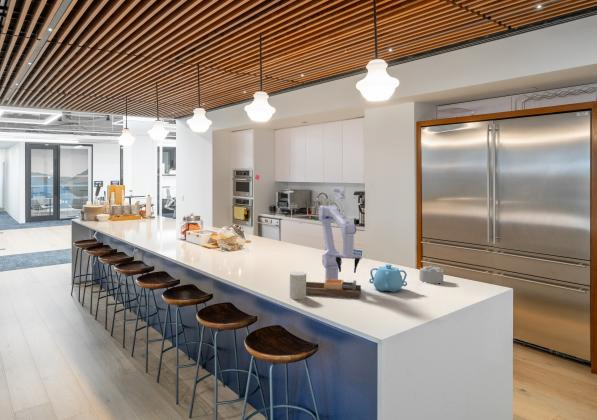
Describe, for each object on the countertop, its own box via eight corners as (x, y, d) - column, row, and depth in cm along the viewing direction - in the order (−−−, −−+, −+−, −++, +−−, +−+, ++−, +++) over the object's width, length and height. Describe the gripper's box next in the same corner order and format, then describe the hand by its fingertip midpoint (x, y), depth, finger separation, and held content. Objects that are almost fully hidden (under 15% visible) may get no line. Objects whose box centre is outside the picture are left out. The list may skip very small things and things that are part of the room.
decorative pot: (391, 284, 238) (392, 260, 237) (409, 292, 223) (410, 266, 222) (366, 287, 231) (367, 262, 230) (383, 294, 217) (384, 268, 216)
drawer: (326, 287, 224) (326, 278, 224) (356, 290, 221) (356, 280, 221) (323, 292, 215) (324, 282, 215) (354, 294, 212) (355, 284, 212)
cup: (291, 300, 205) (292, 275, 204) (287, 295, 213) (288, 271, 212) (307, 298, 208) (308, 274, 207) (303, 294, 215) (303, 271, 214)
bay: (297, 287, 229) (297, 274, 229) (360, 291, 223) (361, 278, 222) (292, 293, 217) (292, 280, 216) (359, 298, 210) (359, 284, 209)
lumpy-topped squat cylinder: (443, 284, 239) (444, 269, 239) (419, 283, 242) (420, 268, 242) (441, 280, 249) (442, 265, 249) (419, 278, 252) (419, 264, 252)
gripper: (333, 246, 217) (332, 273, 218) (361, 248, 214) (361, 274, 215) (334, 244, 224) (334, 270, 225) (362, 246, 221) (361, 271, 222)
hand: (347, 272), depth 221 cm, fingers open, 7 cm apart
